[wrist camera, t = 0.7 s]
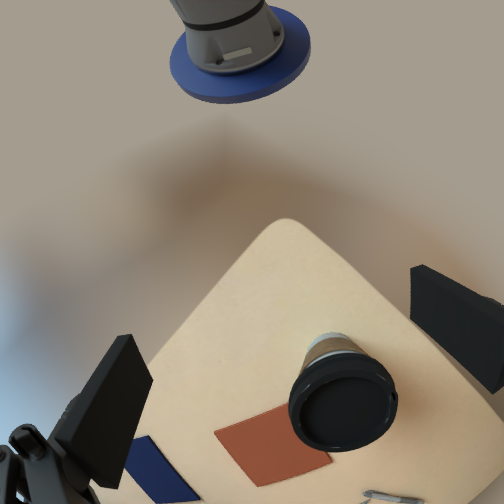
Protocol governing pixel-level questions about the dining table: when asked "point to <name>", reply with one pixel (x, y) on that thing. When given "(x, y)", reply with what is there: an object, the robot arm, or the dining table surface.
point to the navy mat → (156, 473)
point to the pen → (391, 497)
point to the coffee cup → (341, 396)
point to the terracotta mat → (270, 448)
